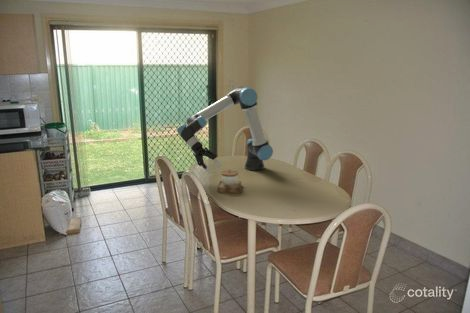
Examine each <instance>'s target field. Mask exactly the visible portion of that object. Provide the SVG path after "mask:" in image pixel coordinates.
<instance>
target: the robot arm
mask: <svg viewBox="0 0 470 313" xmlns="http://www.w3.org/2000/svg"><path fill="white" fill-rule="evenodd" d="M238 104H239V106H240V108H241V109H240V110H242V111H243V112H244V114H245V117H246V121H247V124H248V128H249V130H250V135H251V138H249V139H247V142H246V148H247V149H246V154H247V155H246V161H245V163H244V169H245V170H247V171H251V172H252V171H255V172H256V171H257V172H259V171H263V170H264V169H265V163H264V161H268V160H270V159H271V158H272V156H273V153H274V149H273V147H272V146H271V145H270V143H269V140H268V139H267V138H266V137H265V134H264V131H263V130H264V129H263V126H262V123H261V119H260V117H259V114H258V110H257V105H258V93H257V91H256V90H255V89H254V88H251V87H248V86H247V87H246V86H238V87H236V88H234V89H233V90H231V91H229V92H227V93H226V95H225V96H224V97H222V98H221V99H219V100H217V101H215V102H213V103H212V104H210V105H209V106H207V107H205V108H204V109H202V110H200V111H199V112H197V113H195V114H193V115H190V116H188V117H187V118H186V124H185V123H183V124H181V125H180V126H179V127H177V130H176V132H177V133H178V135H179V137H181V139H182V140H183V142H185V143H186V144H187V146H188V147H189V148H190V150H191V151H192V152H193V156H194V158H195V160H196V163H197V166H200V167H202V168H203V169H204V170H205V171H206V173H207V174H210V173H211V172H212V170H211V168H210V167H209V166H208V164H207V163H206V162H204V157H207V158H209V159H211V160H212V162H213V163H214V164H215V165H216V167H217V168H219V169H220V168H221V167H222V164H221V163H220V161H219V160H218V158H217V157H218V156H217V155H216V154H215V153H213V152H212V151H211V150H209V148H208V147H204V148H203V146H204V145H203V144H202V143H201V141H200V140H199V139H198V138H197V136H196V135H195V134H197V133H198V132H199V131H201V130H202V129H203V128H205V126H207V124H208V122H207V121H208V120H209V119H211V118H212V117H214V116H216V115H217V114H219V113H221V112H223V111H224V110H227V108H230V107H231V106H232V107H234V106H235V105H238Z"/></svg>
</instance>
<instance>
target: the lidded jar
mask: <svg viewBox="0 0 470 313" xmlns="http://www.w3.org/2000/svg"><path fill="white" fill-rule="evenodd" d="M220 173H221V181H223V183H224V184H225V185H228V186H232V185H234V184H235V183H236V182H237V181H238V179H239V178H238V177H239V172H238V171H237V170H233V169H232V170H231V169H226V170H224V171H223V170H222V171H221V172H220Z"/></svg>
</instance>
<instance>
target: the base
mask: <svg viewBox="0 0 470 313" xmlns="http://www.w3.org/2000/svg"><path fill="white" fill-rule="evenodd" d="M241 190H242V181H241V180H237V182H236V183H235V184H234V185H232V186H228V185H225V184H224V183H223V181H222V180H219V183H218V186H217V193H224V192H228V193H230V194H232V193H234V194H240V193H241Z"/></svg>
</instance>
